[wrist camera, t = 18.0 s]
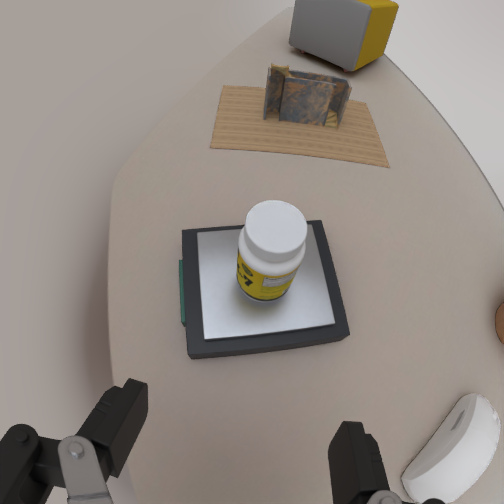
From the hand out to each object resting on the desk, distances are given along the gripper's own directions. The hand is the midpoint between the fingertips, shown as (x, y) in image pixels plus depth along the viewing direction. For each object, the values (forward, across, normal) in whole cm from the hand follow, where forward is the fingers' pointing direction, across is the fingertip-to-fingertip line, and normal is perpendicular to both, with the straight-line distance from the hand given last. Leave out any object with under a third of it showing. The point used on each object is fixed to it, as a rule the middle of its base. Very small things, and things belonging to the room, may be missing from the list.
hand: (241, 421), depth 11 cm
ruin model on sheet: (+39, -2, -17) cm, 42 cm away
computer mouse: (+9, -23, +13) cm, 27 cm away
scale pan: (+17, 0, 0) cm, 17 cm away
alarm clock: (+60, -8, -38) cm, 71 cm away
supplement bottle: (+17, 0, 0) cm, 17 cm away
